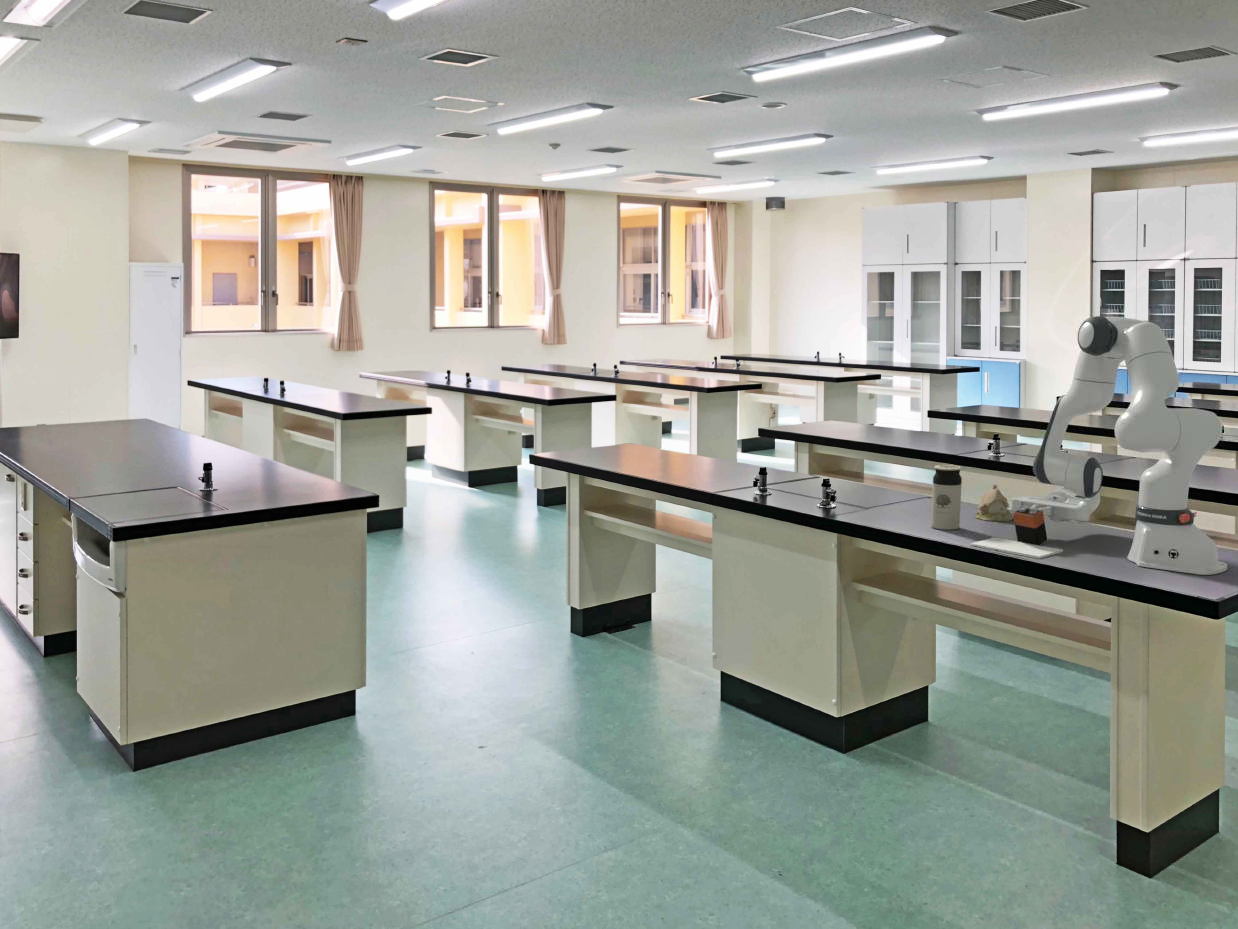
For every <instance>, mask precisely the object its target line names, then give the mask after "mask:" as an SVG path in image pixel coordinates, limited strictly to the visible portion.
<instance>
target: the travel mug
mask: <svg viewBox="0 0 1238 929" xmlns="http://www.w3.org/2000/svg"><path fill="white" fill-rule="evenodd" d="M934 470H935V474H934V475H933V477H932V498H931V515H930V516H931V518H930V520H931V521H930V526H931V527H932V528H934V529H936V530H941V531H954V530H958V529H959V528H960V527H961V526H960V525H961V522H960V521H961V502H962V483H963V482H962V480H963V479H962V476H961V474H960V472H961V470H962V467H961V466H959V465H953V464H952V465H951V464H939V465H934Z"/></svg>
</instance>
